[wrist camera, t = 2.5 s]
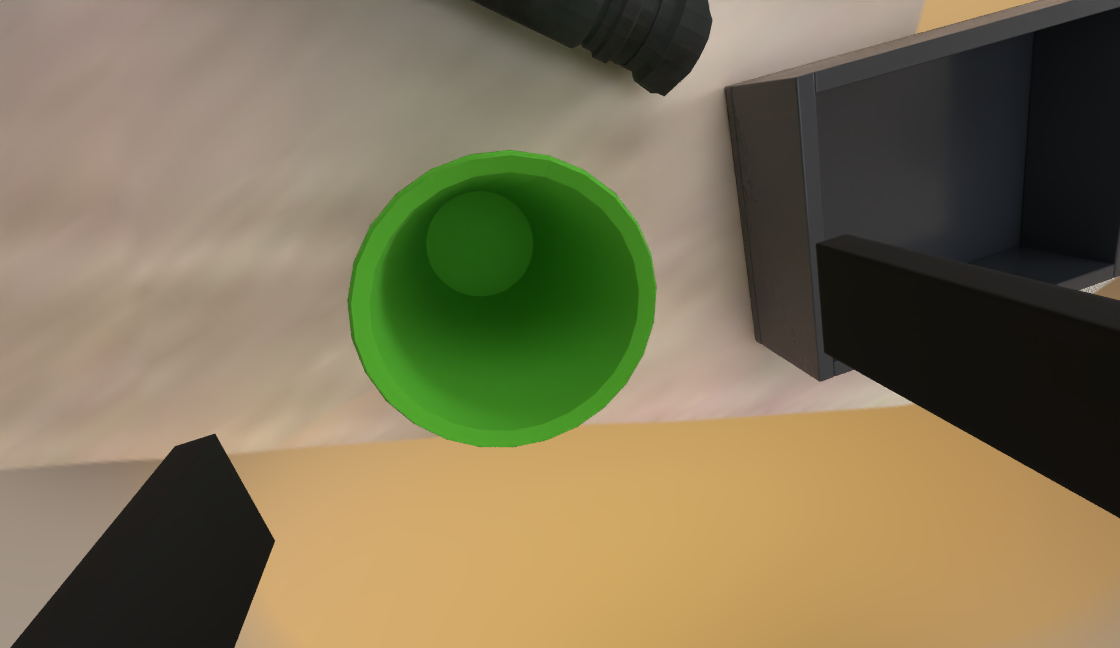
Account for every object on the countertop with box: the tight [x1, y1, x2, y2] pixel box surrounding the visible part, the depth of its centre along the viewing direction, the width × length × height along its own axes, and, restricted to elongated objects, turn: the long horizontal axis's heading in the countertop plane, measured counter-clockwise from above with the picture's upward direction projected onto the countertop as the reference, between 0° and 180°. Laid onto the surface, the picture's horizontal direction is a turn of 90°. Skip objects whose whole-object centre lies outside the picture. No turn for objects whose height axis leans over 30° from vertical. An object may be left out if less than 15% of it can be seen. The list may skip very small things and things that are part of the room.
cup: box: [348, 150, 656, 447], centre depth 21 cm, size 9×9×11 cm
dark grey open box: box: [725, 0, 1120, 381], centre depth 28 cm, size 18×14×6 cm
